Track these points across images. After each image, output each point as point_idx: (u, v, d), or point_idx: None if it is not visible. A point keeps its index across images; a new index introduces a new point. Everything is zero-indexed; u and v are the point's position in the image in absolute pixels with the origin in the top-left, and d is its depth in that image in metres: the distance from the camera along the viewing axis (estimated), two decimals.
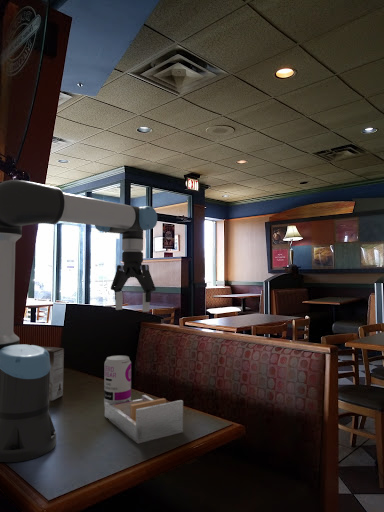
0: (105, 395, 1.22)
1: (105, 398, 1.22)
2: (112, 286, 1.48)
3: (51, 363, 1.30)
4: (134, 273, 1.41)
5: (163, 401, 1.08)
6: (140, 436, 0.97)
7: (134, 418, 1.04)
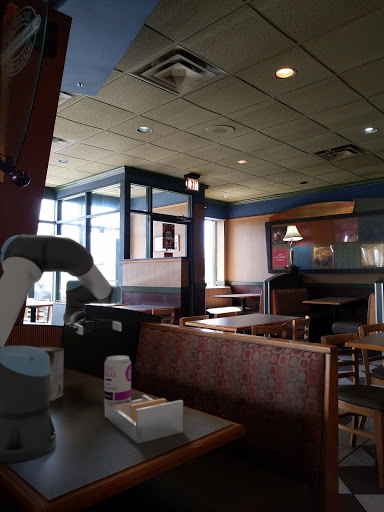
0: (105, 395, 1.22)
1: (105, 398, 1.22)
2: (67, 324, 1.38)
3: (51, 363, 1.30)
4: (96, 319, 1.48)
5: (163, 401, 1.08)
6: (140, 436, 0.97)
7: (134, 418, 1.04)
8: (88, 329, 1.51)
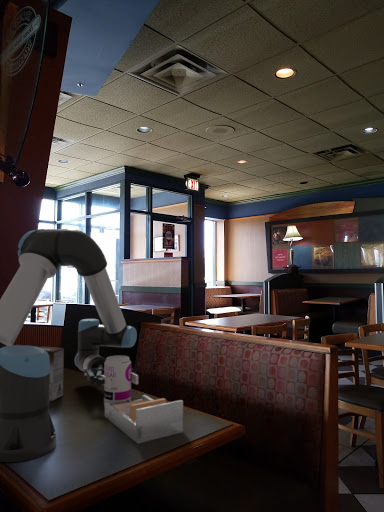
0: (105, 395, 1.22)
1: (105, 398, 1.22)
2: (91, 375, 1.24)
3: (51, 363, 1.30)
4: None
5: (163, 401, 1.08)
6: (140, 436, 0.97)
7: (134, 418, 1.04)
8: None
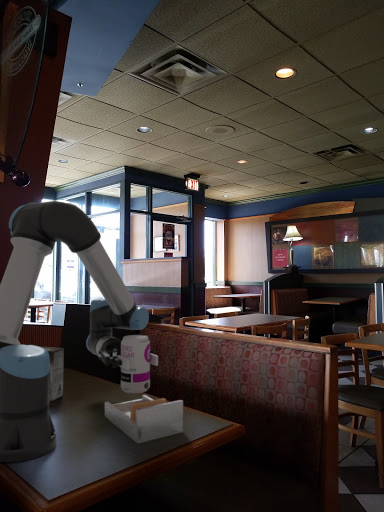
0: (122, 377, 1.12)
1: (122, 380, 1.12)
2: (107, 355, 1.14)
3: (51, 363, 1.30)
4: None
5: (163, 401, 1.08)
6: (140, 436, 0.97)
7: (134, 418, 1.04)
8: None
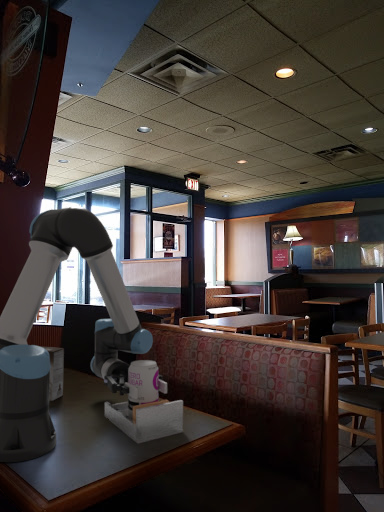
0: (130, 405, 1.07)
1: (130, 409, 1.07)
2: (114, 382, 1.09)
3: (51, 363, 1.30)
4: None
5: (166, 402, 1.07)
6: (140, 436, 0.97)
7: None
8: None
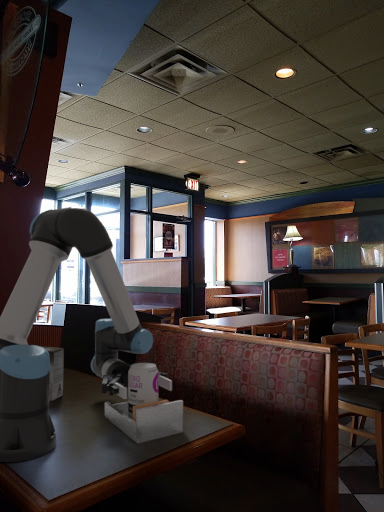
0: (130, 408, 1.07)
1: (130, 412, 1.07)
2: (104, 382, 1.09)
3: (51, 363, 1.30)
4: None
5: None
6: (140, 436, 0.97)
7: None
8: (125, 383, 1.22)
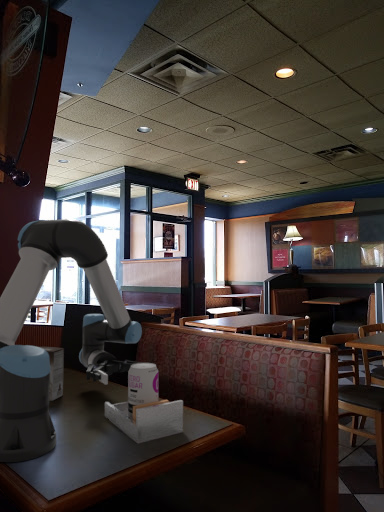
0: (130, 408, 1.07)
1: (130, 412, 1.07)
2: (88, 370, 1.20)
3: (51, 363, 1.30)
4: (119, 361, 1.30)
5: None
6: (140, 436, 0.97)
7: None
8: (109, 372, 1.33)
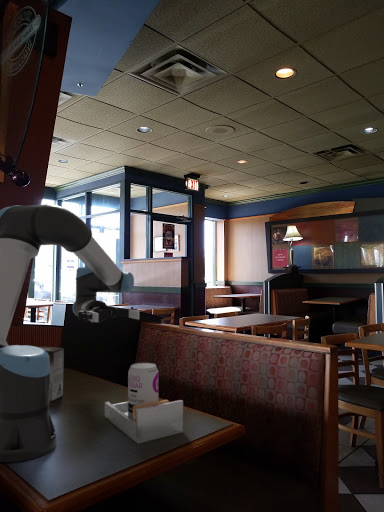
0: (130, 408, 1.07)
1: (130, 412, 1.07)
2: (80, 311, 1.26)
3: (51, 363, 1.30)
4: (110, 307, 1.36)
5: None
6: (140, 436, 0.97)
7: None
8: (101, 319, 1.39)
